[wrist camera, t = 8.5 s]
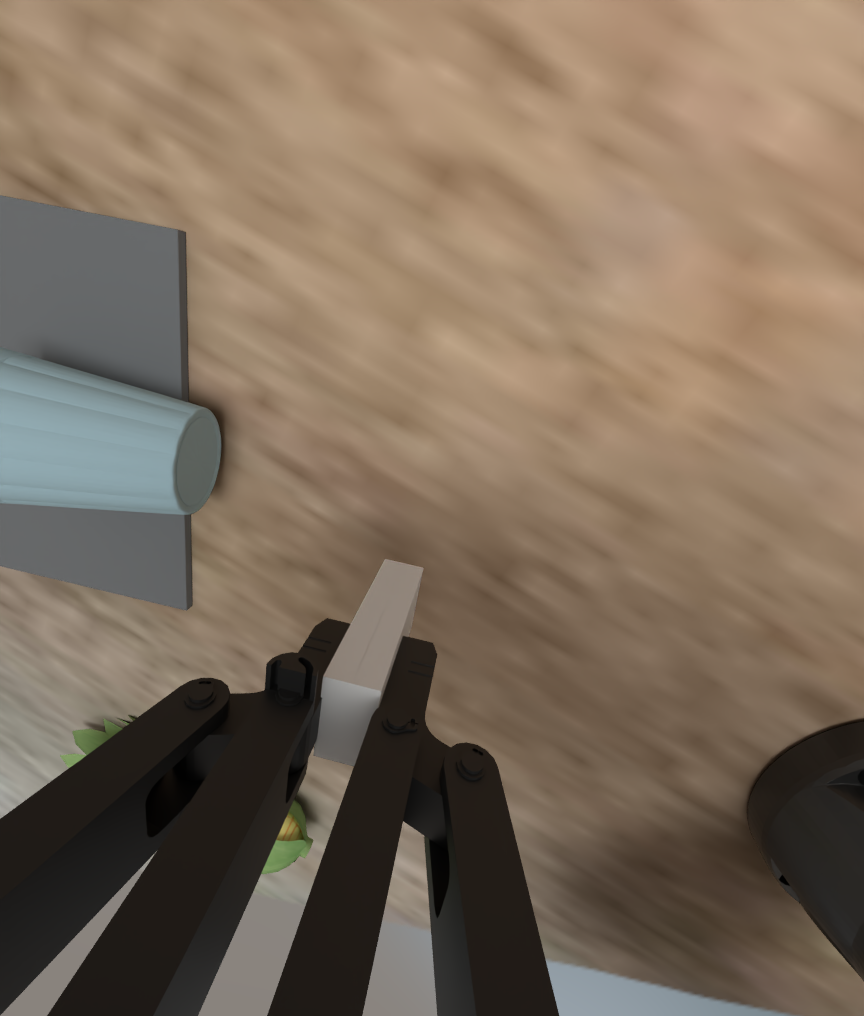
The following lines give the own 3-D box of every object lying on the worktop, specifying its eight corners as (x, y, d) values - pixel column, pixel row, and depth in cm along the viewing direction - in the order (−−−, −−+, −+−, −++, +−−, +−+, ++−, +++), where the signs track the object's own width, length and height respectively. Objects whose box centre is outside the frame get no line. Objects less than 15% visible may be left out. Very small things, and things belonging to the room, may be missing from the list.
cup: (227, 365, 25) (22, 327, 24) (150, 416, 19) (-133, 366, 18) (232, 487, 29) (56, 458, 28) (170, 565, 23) (-61, 529, 22)
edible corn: (282, 895, 35) (297, 885, 32) (41, 766, 34) (33, 745, 31) (316, 820, 39) (331, 806, 36) (100, 703, 38) (98, 679, 35)
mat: (185, 231, 23) (177, 229, 22) (192, 605, 31) (186, 610, 31) (-78, 180, 24) (-92, 177, 23) (-3, 559, 32) (-12, 563, 31)
